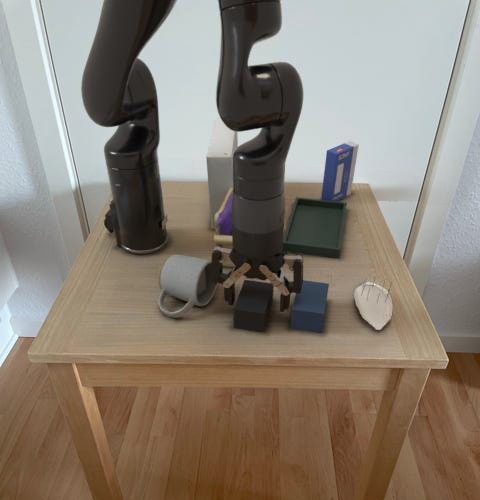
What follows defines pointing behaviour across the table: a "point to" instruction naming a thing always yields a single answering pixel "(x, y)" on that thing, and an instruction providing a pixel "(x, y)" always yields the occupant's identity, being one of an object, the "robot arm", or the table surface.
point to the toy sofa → (224, 226)
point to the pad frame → (315, 227)
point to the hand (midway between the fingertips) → (256, 305)
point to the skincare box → (220, 165)
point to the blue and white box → (339, 171)
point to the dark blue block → (310, 306)
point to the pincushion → (374, 304)
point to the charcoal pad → (253, 305)
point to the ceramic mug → (186, 282)
